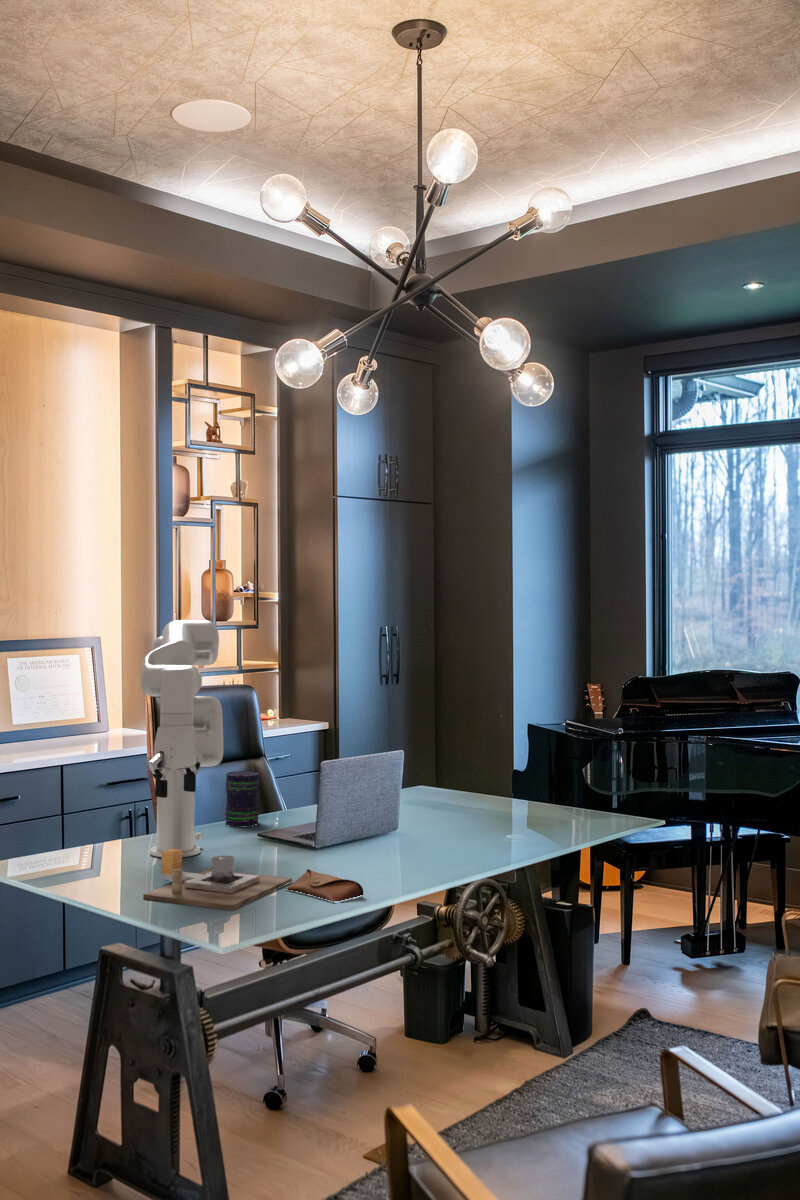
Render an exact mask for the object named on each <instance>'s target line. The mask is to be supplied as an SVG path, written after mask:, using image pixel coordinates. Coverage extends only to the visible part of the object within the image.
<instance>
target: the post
mask: <svg viewBox="0 0 800 1200" xmlns="http://www.w3.org/2000/svg"><path fill="white" fill-rule="evenodd" d="M210 861H211V862H210V863H211V865H210V866H211V867H210V869H211V882H216V883H224V884H229V883H231V882H234V872H235V857H234V856H232V855H215V856H212V857H211V860H210Z"/></svg>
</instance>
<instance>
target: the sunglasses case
mask: <svg viewBox="0 0 800 1200" xmlns="http://www.w3.org/2000/svg"><path fill="white" fill-rule="evenodd" d="M285 889H288V890H293V891H298V892H302V893H305V894H310V895H313V896H316V897H320V898H323V899H327V900H330V901H333V902H334V901H341V900H345V899H349V898H353V897H357V896H360V895H363V896H364V888H363V887H362V885H361V884H360V883H359V882H357V881H354V880H352V879H346V878H345V879H344V878H340V877H337V876H333V875H329V874H325V873H321V872H317V871H313V870H312V869H306V871H305V872H304V873H303V874H301V876H299V878H297V879H296V880H295V881H293V882H292V883H290V884H289V886H288V887H286V888H285Z"/></svg>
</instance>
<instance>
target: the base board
mask: <svg viewBox="0 0 800 1200" xmlns="http://www.w3.org/2000/svg"><path fill="white" fill-rule="evenodd" d="M209 872H211V868H209V869H206V870H204V871H201V872H198V873H197V874H206V873H209ZM234 873H241V874H250V875H259V876H260V881H258V882H256V883H254V884H251V885H249V886H247V887H244V888H242V889H240V890H238V891H235V892H233V893H226V892H218V891H210V890H202V889H193V888H185V887H184V882H182V893H181V894H172V883H169V884H167V885H164V886H161V887H159V888H156V889H153V890H151V891H149V892H146V893H144V894H142V895H143V896H142V897H143V898H142V899H143V900H147V899H150V901H155V900H158V901H157V902H163V901H165V902H166V903H171V902H172V903H173V904H178V903H180V905H187V906H195V907H204V908H209V909H217V910H225V909H226V911H234V910H236V909H238V908H240V907H243V906H245V905H247V904H248V903H251V902H253V901H255V900H257V898H258V899H260V898H262V897H263V896H262V895H264V896H266V895H268V894H270V893H272V892H271V891H273V890H275V889H277V888H279V887H281V886H283V885H285V884H287V883H289V882H291V881H293V878H292V877H286V876H285V877H281V876H276V875H275V876H274V875H266V874H264V875H263V874H257V873H256V874H255V873H247V872H240V871H234ZM283 887H284V886H283ZM281 888H282V887H281ZM279 889H280V888H279ZM277 890H278V889H277ZM275 891H276V890H275ZM269 892H270V893H269ZM273 892H274V891H273ZM267 893H268V894H267ZM265 894H266V895H265ZM261 896H262V897H261ZM259 897H260V898H259ZM246 903H247V904H246ZM244 904H245V905H244ZM233 909H234V910H233Z"/></svg>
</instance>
